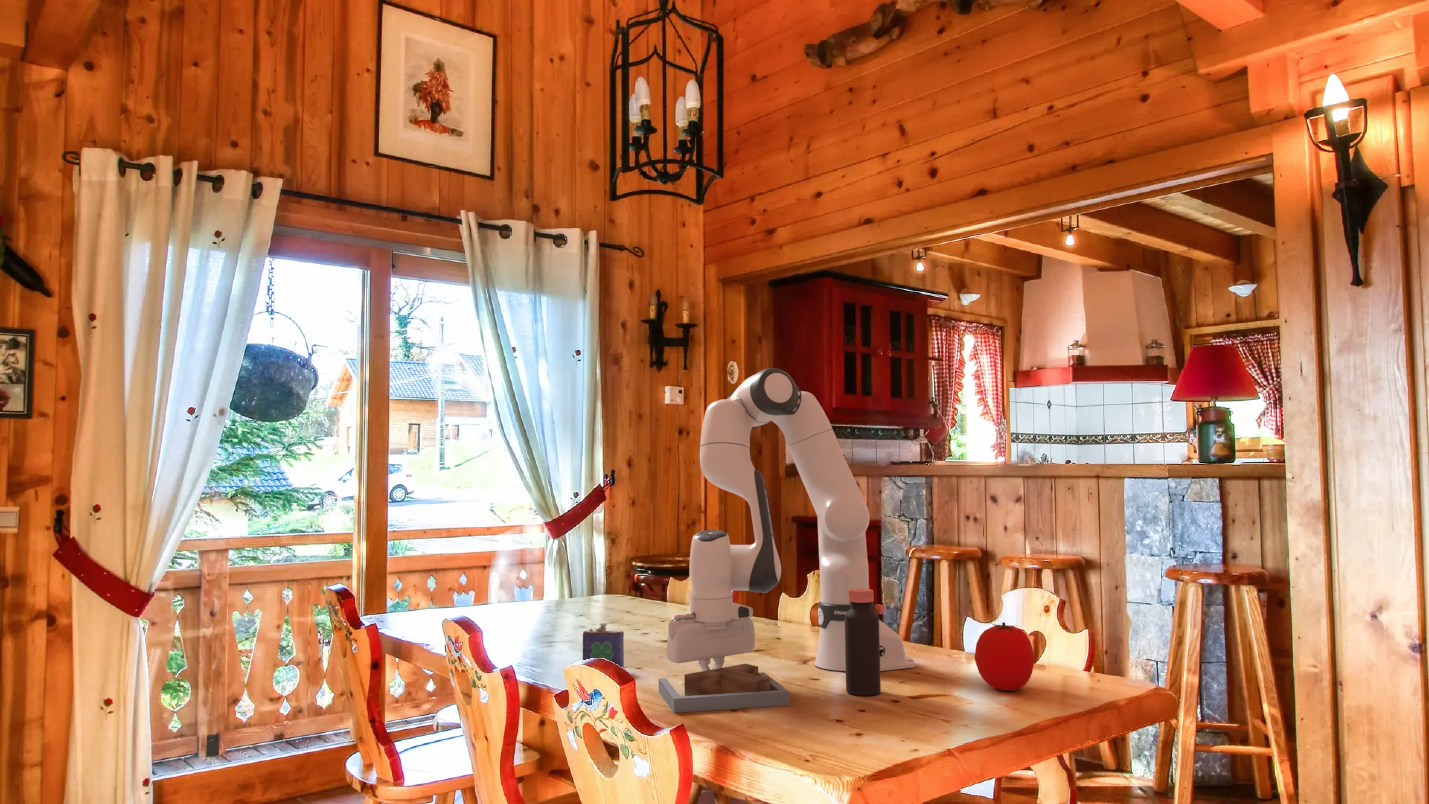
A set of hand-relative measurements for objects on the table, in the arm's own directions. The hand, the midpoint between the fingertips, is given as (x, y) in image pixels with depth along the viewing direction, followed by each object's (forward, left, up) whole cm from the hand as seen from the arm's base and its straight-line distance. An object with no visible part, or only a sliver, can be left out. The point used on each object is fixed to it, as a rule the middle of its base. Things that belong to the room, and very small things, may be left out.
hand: (711, 680), depth 190 cm
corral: (0, +9, -2) cm, 9 cm away
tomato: (-56, +17, -2) cm, 59 cm away
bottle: (-28, +12, -2) cm, 30 cm away
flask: (+20, -22, -2) cm, 30 cm away
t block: (-4, +7, -2) cm, 8 cm away
